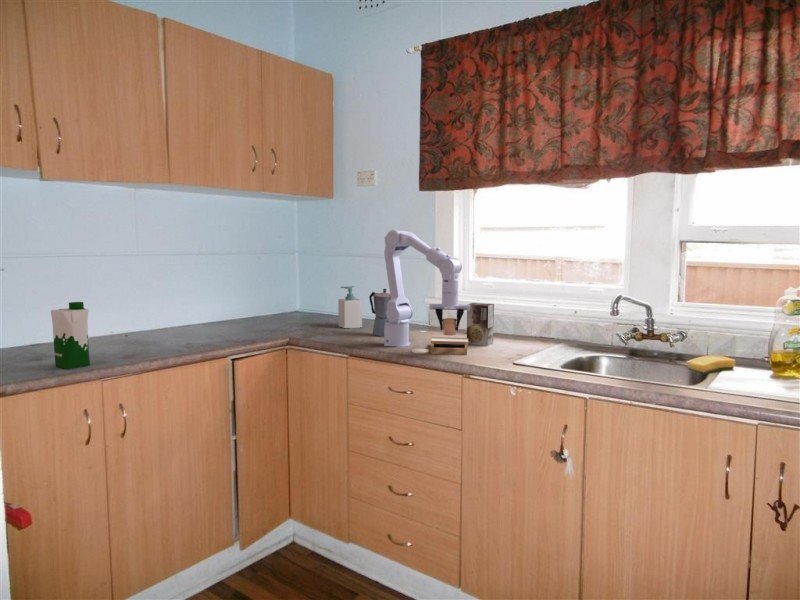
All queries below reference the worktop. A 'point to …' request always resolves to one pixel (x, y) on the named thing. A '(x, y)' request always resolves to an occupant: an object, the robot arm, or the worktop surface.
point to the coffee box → (480, 324)
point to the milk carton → (71, 336)
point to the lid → (449, 340)
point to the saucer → (420, 351)
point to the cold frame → (448, 349)
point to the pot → (449, 326)
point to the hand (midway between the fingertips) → (449, 330)
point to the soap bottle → (350, 311)
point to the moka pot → (379, 311)
